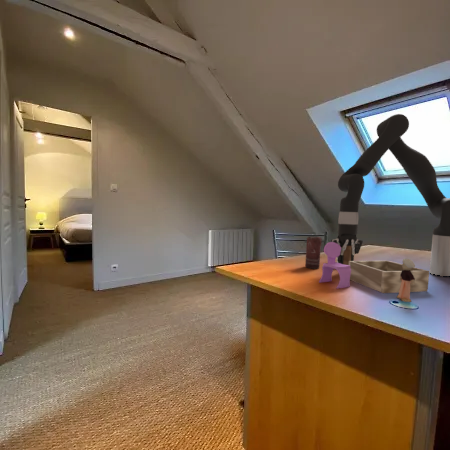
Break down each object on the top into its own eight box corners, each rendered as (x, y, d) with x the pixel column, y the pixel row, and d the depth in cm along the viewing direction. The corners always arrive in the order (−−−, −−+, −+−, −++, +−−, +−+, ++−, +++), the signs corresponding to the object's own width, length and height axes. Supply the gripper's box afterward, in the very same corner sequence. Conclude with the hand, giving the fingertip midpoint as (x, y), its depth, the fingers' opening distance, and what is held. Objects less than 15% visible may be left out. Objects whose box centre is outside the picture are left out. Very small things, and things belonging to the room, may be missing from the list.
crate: (386, 277, 115) (388, 260, 114) (427, 291, 97) (429, 271, 97) (347, 278, 111) (348, 261, 110) (382, 293, 93) (384, 272, 93)
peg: (345, 272, 122) (347, 244, 121) (352, 274, 118) (354, 246, 117) (337, 272, 121) (339, 244, 120) (343, 274, 117) (345, 245, 116)
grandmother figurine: (390, 295, 90) (393, 256, 89) (401, 296, 91) (404, 256, 90) (407, 304, 83) (411, 261, 82) (420, 304, 83) (423, 261, 82)
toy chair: (336, 289, 96) (339, 245, 95) (316, 282, 103) (319, 241, 102) (352, 286, 99) (355, 244, 98) (332, 280, 107) (335, 241, 106)
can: (320, 269, 126) (322, 238, 125) (305, 268, 127) (307, 237, 126) (319, 266, 132) (320, 236, 131) (304, 265, 133) (306, 235, 132)
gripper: (356, 222, 123) (354, 261, 124) (327, 221, 120) (325, 262, 121) (369, 223, 116) (366, 265, 117) (338, 223, 113) (335, 265, 114)
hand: (345, 263), depth 119 cm, fingers closed on peg, 4 cm apart
